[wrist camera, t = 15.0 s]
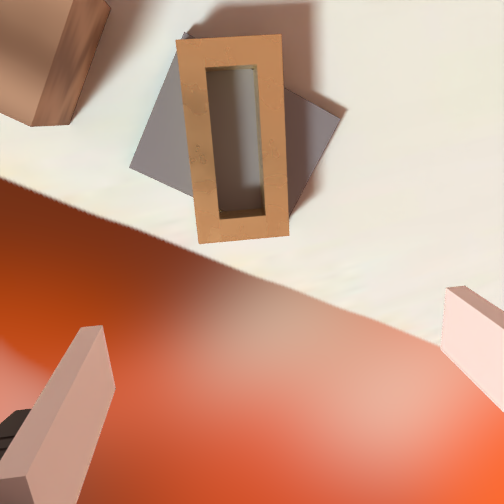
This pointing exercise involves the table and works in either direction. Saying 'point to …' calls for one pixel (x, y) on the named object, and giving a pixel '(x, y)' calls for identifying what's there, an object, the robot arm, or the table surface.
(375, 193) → the table surface
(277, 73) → the golden brown rectangular frame
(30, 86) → the walnut stand
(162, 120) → the rubber mat
